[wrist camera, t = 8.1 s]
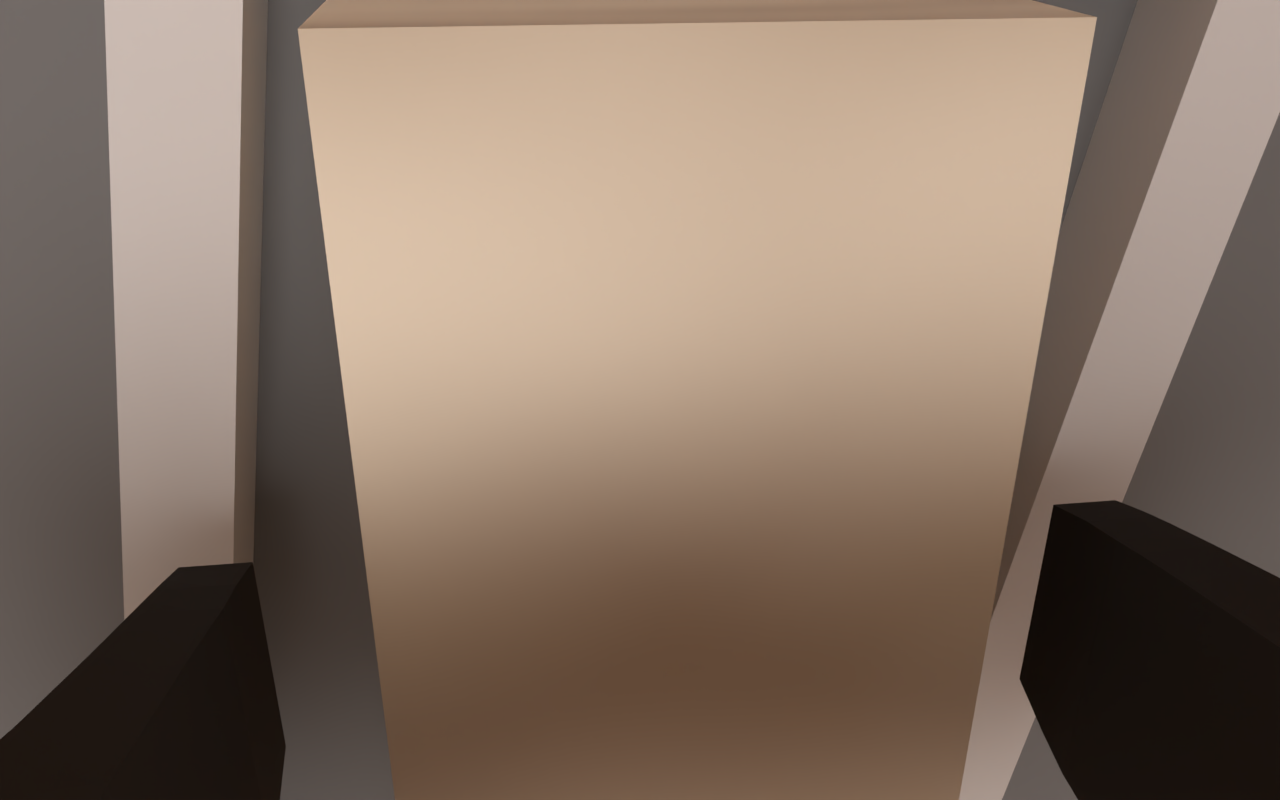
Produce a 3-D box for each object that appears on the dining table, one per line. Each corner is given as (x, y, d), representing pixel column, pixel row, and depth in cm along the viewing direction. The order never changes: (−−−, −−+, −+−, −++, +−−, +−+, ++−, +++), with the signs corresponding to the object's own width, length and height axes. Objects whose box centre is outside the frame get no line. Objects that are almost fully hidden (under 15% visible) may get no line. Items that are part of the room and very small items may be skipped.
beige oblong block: (824, 777, 15) (918, 1026, 12) (440, 815, 14) (431, 1089, 11) (907, -33, 10) (1096, 17, 7) (354, -28, 10) (296, 29, 7)
